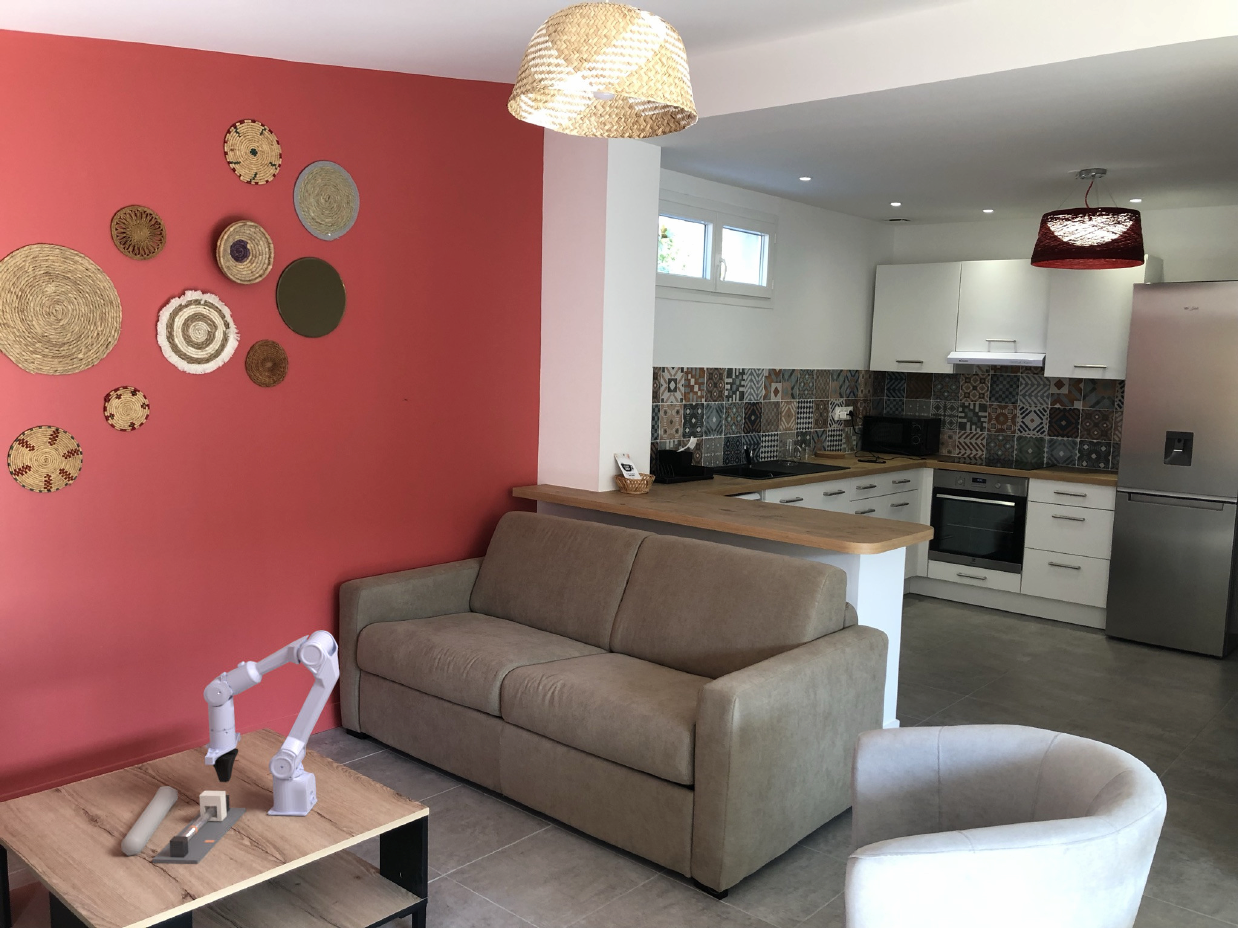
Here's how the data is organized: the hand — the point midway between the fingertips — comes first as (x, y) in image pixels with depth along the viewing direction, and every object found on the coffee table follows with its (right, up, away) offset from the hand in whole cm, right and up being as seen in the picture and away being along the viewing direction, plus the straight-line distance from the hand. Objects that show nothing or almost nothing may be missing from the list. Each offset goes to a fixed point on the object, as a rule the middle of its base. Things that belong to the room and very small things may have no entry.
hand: (224, 780), depth 234 cm
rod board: (-1, -9, -11) cm, 14 cm away
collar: (0, -7, -6) cm, 9 cm away
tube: (-14, -9, -9) cm, 19 cm away
